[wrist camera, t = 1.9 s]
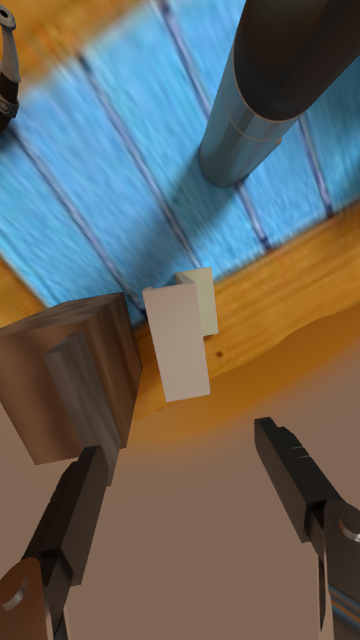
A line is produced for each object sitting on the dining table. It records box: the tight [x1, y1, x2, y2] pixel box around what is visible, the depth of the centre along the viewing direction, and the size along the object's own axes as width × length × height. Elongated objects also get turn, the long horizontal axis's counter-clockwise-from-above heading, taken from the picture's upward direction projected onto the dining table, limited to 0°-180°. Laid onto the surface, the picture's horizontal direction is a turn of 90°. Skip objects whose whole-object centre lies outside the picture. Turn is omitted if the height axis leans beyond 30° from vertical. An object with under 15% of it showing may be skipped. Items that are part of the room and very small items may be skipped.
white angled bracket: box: [142, 267, 218, 402], centre depth 31 cm, size 12×14×20 cm
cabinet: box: [0, 292, 143, 487], centre depth 29 cm, size 12×18×25 cm, turn 9°
